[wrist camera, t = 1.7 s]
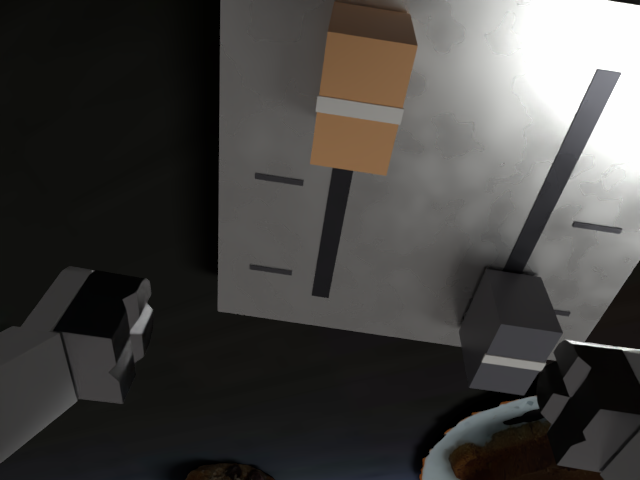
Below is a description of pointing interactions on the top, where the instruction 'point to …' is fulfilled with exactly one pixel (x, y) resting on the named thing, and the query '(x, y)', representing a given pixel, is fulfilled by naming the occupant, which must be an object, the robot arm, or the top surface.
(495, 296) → the black fader
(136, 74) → the top surface
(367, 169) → the orange fader
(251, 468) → the bread roll
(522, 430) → the food on plate
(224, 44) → the mixing panel
